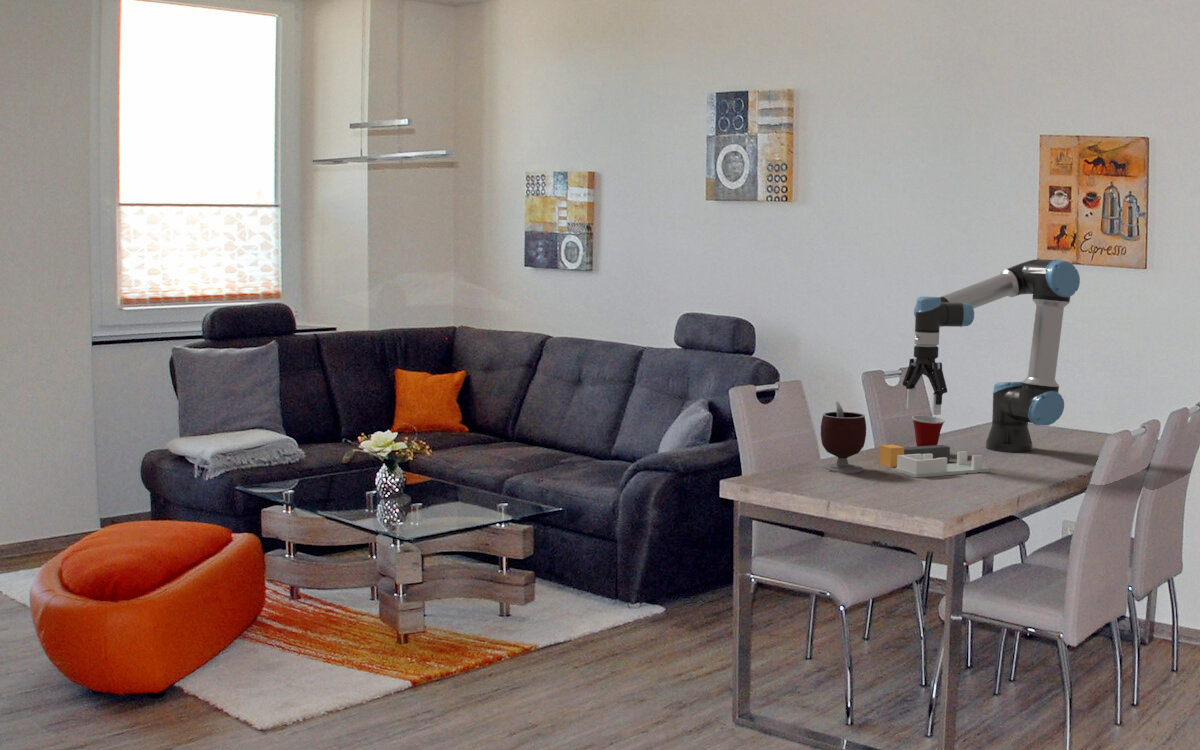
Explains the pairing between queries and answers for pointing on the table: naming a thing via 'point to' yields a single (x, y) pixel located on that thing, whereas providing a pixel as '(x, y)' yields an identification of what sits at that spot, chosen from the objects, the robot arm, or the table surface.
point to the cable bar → (891, 452)
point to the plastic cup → (927, 430)
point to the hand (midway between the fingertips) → (923, 411)
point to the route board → (938, 465)
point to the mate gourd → (843, 438)
